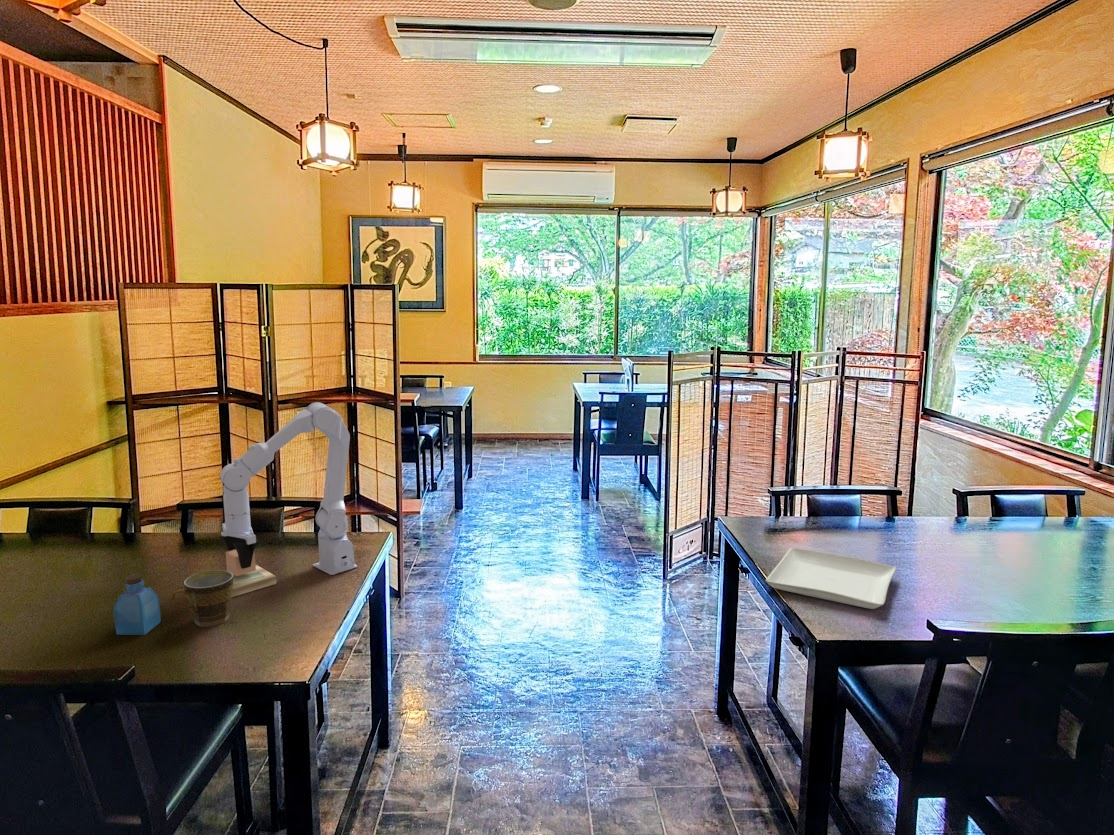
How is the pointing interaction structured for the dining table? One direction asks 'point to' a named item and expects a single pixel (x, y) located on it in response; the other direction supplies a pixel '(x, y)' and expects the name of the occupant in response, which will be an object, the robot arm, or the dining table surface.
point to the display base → (252, 581)
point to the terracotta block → (238, 563)
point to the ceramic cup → (208, 596)
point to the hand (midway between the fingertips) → (241, 564)
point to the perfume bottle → (136, 608)
